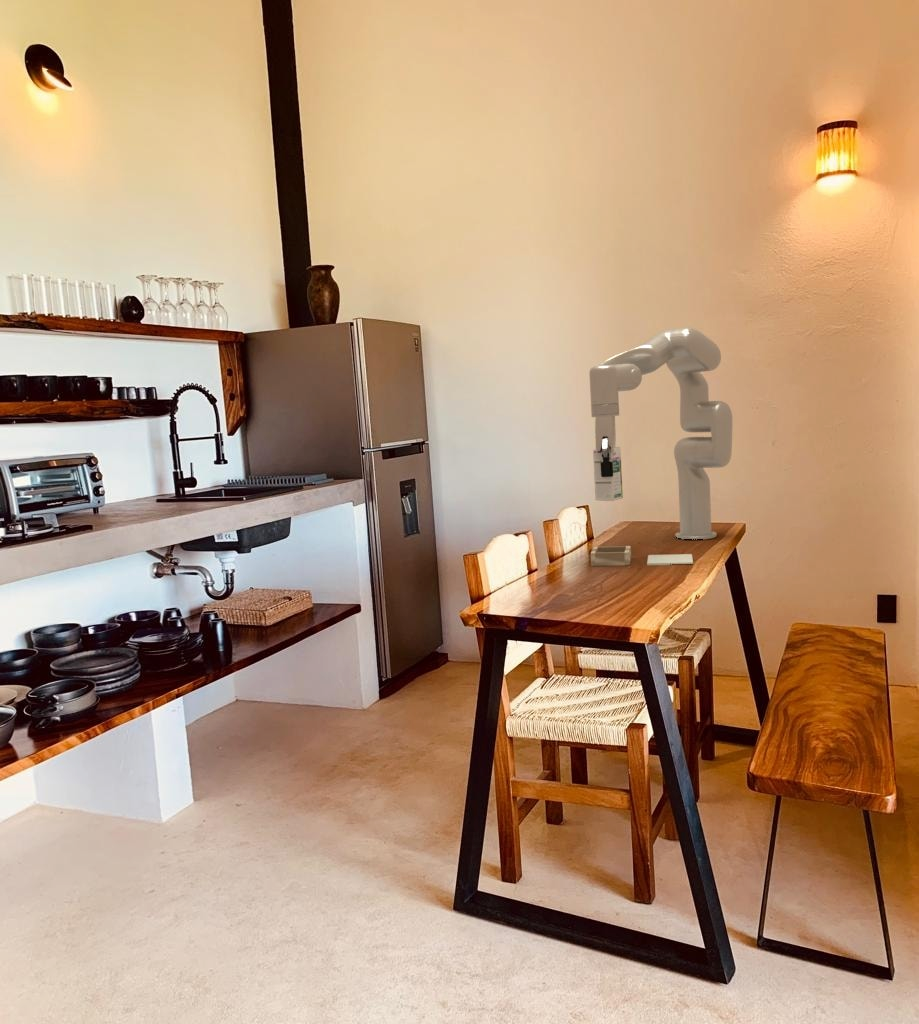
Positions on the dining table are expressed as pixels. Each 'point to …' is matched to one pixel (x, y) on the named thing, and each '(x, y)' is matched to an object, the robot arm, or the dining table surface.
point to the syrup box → (608, 485)
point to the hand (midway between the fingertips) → (608, 474)
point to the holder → (610, 555)
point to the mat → (670, 559)
